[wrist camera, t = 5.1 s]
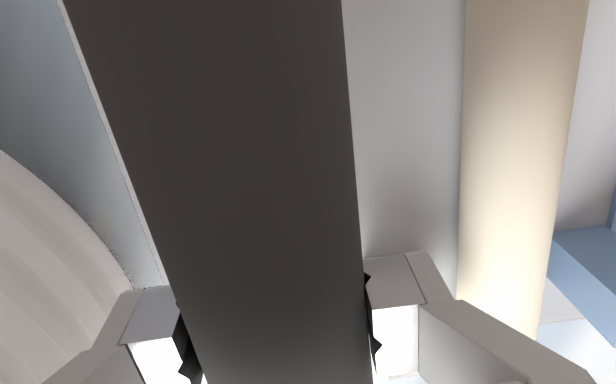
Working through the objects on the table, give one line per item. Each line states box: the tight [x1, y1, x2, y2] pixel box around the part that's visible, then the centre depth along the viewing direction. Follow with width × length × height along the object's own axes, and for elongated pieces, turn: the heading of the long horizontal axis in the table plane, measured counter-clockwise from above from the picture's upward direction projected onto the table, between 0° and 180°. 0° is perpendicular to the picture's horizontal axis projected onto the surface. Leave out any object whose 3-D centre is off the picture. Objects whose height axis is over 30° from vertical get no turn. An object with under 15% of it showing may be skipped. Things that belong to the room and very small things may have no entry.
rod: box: [456, 0, 590, 341], centre depth 14 cm, size 14×3×3 cm, turn 8°
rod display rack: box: [57, 0, 616, 384], centre depth 14 cm, size 18×28×6 cm, turn 98°
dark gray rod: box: [62, 0, 373, 384], centre depth 9 cm, size 16×4×4 cm, turn 7°
